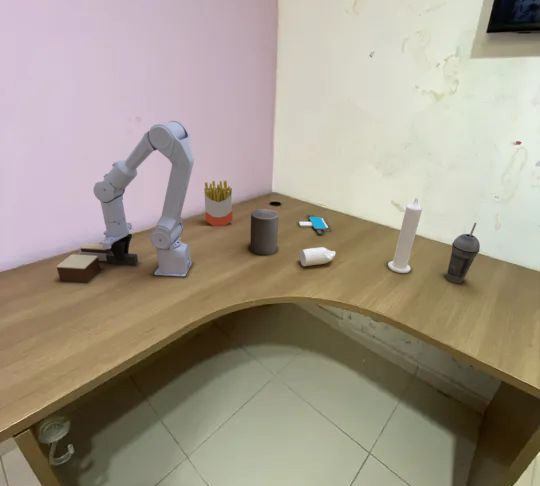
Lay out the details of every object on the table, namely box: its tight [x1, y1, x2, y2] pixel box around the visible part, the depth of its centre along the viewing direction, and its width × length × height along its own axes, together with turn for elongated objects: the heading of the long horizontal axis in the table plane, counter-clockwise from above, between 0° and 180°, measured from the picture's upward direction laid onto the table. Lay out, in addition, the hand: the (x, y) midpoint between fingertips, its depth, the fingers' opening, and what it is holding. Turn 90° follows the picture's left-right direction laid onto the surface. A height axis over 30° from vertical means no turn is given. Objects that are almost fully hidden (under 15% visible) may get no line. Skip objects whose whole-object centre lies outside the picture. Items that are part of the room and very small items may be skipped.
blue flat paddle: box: [298, 214, 331, 236], centre depth 133 cm, size 20×12×2 cm, turn 5°
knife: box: [78, 251, 139, 266], centre depth 98 cm, size 18×2×3 cm, turn 88°
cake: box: [55, 253, 102, 284], centre depth 91 cm, size 8×7×5 cm
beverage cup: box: [446, 222, 481, 284], centre depth 95 cm, size 7×7×20 cm
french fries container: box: [204, 180, 233, 227], centre depth 127 cm, size 5×11×18 cm, turn 101°
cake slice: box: [79, 242, 111, 264], centre depth 99 cm, size 8×3×5 cm, turn 88°
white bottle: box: [298, 246, 336, 267], centre depth 103 cm, size 6×12×6 cm, turn 105°
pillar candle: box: [249, 208, 280, 256], centre depth 109 cm, size 10×10×15 cm
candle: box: [387, 196, 423, 274], centre depth 98 cm, size 7×7×25 cm
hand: (122, 258), depth 98 cm, fingers closed on knife, 2 cm apart
